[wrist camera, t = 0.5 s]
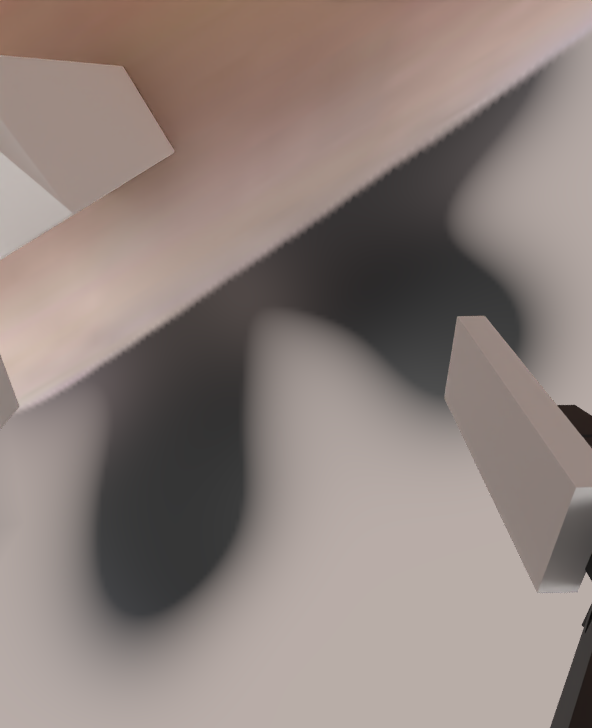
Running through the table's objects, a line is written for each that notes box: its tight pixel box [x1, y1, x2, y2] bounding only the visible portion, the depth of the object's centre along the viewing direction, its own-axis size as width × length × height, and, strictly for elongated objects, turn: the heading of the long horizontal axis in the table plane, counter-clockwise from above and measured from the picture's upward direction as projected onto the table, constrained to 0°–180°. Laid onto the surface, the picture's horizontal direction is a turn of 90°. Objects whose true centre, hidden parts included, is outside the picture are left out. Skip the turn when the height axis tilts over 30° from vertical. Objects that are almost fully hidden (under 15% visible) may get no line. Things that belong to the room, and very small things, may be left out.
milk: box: [0, 55, 175, 260], centre depth 25 cm, size 6×6×22 cm
